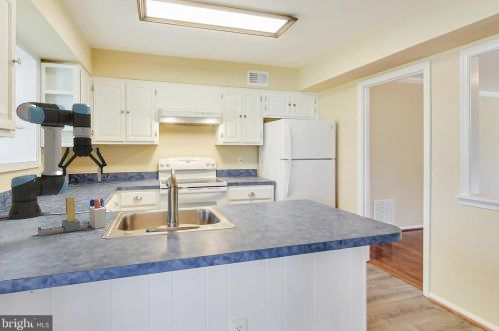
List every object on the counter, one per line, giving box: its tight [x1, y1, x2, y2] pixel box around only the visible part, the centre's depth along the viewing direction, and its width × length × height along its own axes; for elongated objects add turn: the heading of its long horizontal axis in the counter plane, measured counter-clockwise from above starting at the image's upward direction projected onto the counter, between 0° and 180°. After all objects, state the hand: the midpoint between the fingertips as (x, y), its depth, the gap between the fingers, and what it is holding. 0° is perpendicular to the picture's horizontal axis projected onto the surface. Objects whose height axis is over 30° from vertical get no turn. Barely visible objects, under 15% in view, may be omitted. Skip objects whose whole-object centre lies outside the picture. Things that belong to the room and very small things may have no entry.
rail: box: [37, 220, 88, 237], centre depth 136 cm, size 3×19×3 cm, turn 132°
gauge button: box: [94, 199, 100, 209], centre depth 145 cm, size 3×3×8 cm
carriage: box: [61, 196, 81, 233], centre depth 137 cm, size 8×6×15 cm
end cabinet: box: [88, 206, 107, 229], centre depth 145 cm, size 10×5×9 cm, turn 42°
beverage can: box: [89, 197, 105, 208], centre depth 155 cm, size 6×6×12 cm
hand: (83, 182), depth 140 cm, fingers open, 13 cm apart
